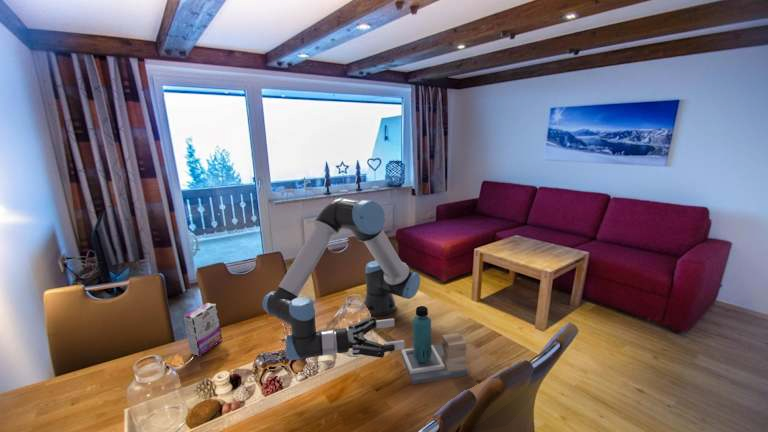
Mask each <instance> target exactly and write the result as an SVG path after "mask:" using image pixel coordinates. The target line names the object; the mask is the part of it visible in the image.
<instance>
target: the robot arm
mask: <svg viewBox="0 0 768 432" xmlns="http://www.w3.org/2000/svg"><path fill="white" fill-rule="evenodd" d="M385 215H386V213H385V210H384V208H383V207H382V206H381V204H379V202H376V201H374V200H371V199H367V198H365V199H363V198H354V197H347V196H341V197H338V198H336V199H334V200H331V202H329V203H328V204H327V205H326V206H325V207H324V208H323V209H322V210H321V211H320V213H319V214H318V216H317V217H316V219H315V220H314V222H313V224H314V227H313V229H312V231H311V232H310V234H309V235H308V237H307V239H306V240H305V242H304V243H303V245H302V247H301V249H300V250H299V252H298V254H297V255H296V257H295V258H294V260H293V262H292V263H291V265H290V267H289V269H288V270H287V272H286V274H285V275H284V277H283V279H282V280H281V281H280V283H279V284H278V287H277V288H276V290H273V291H270V292H268V293H266V295H265V296H264V297H263V300H262V308H263V310H264V311H265V312H266V313H268V314H269V315H270V316H272V317H274V318H276V319H278V320H280V321H281V322H284V323H285V324H287V325H289V326H290V329H291V330H290V331H291V334H290V335H288V336H287V337H286V339H285V348H286V349H285V351H286V352H285V353H286V358H287V359H288V360H289V361H294V360H296V361H297V360H304V359H305V360H306V359H310V358H315V357H323V356H328V355H329V356H330V355H335V354H336V353H337V354H345V353H348V352H349V350H351V349H352V350H351V351H352V355H353V356H357V355H360V356H367V357H374V358H380V359H381V358H384V357H385V353H388V352H394V351H397V350H398V351H399V350H403V349H405V340H404V339H400V340H393V341H385V342H383V344H382V343H378V342H375V341H372V340H369V339H367V338H366V337H365V335H366V334H368V333H369V332H371V331H372V330H373V329H374V328H376V329H384V328H392V327H395V318H387V319H386V318H385V319H378V320H377V319H376V317H383V316H387V315H391V314H393V312H395V310H396V301H395V299H394V296H393V295H395V296H397V297H401V298H402V299H407V300H411V299H413V298H414V297H415V296H416V295H417V293H418V292H419V289H420V285H421V276H420V274H419V273H418V272H416V271H412V270H411V269H410V267H409V265H407V263H406V262H403V261H402V260H401V259H400V257H399V255H398V253H397V252H396V250H395V248H394V246H393V245H392V243H391V241H390V239H389V238H388V236H387V235H386V233H385V230H384V228H385V227H384V225H385V223H386V222H385V221H386V218H384V217H385ZM342 229H345V230H350V231H351V232H352V234H353V235H354V237H355V238H356V240H357V241H359V242H363V243H364V244H365V246H366V247H367V249H368V251H369V252H370V254H371V255H372V257H373V258H374V260H372V261H370V262H368V263H366V265H365V286H366V287H365V289H366V293H365V298H364V301H363V304H365V305H366V307H367V308H368V310H369V311H370V313H371V314H372V315H371V316H373V317H369V318H366V319H364V320H361V321H359V322H356V323H355V324H349V325H348V330H347V328H346V327H343V328H342V327H341V328H337V329H336V330H334V329H327V330H322V331H317V327H316V310H315V309H316V308H315V305H314V300H313V299H312V298H310V297H308V296H299V295H300V294H301V292H302V291H303V289H304V286H305V285H306V283H307V281H308V280H309V278H310V277H311V275H312V272H314V269H315V268H316V267H317V265H318V262H319V261H320V259H321V257H322V256H323V254H324V253H325V250H326V249H327V247H328V245H329V244H330V242H331V240H332V239H333V237H335V236H337V235H338V234H339V232H340V231H341V230H342ZM374 316H375V317H374Z"/></svg>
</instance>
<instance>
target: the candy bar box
mask: <svg viewBox="0 0 768 432" xmlns="http://www.w3.org/2000/svg"><path fill="white" fill-rule="evenodd" d="M217 308H218V307H217V304H216V303H213V302H212V303H211V302H206V303H204V304H203V305H201V306H199V307H197V308H196V309H193V310H192V311H190V312H189V313H187V314H185V315H184V316H183V321H184V326H185V330H186V331H185V332H186V335H187V336H186V337H187V341H188V347H189V350H190V355H191V354H196V355H199V356H200V355H202V354H203V353H204V352H205V351H207V350H208V349H210V348H211V347H212V346H214V345H215V344H216V343H218V342H219V341H220V340H221V339H222V340H223V336H222V331H221V325H220V319H219V313H218V309H217ZM218 344H219V343H218ZM214 347H215V346H214ZM210 350H211V349H210ZM207 352H208V351H207ZM203 355H204V354H203ZM203 355H202V356H203ZM199 356H198V357H199Z"/></svg>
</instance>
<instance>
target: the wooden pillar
mask: <svg viewBox="0 0 768 432" xmlns="http://www.w3.org/2000/svg"><path fill="white" fill-rule="evenodd" d="M441 345H442V362H443V364H444V365H445V367H446V369H447V371H448V372H453V371H459V370H465V367H466V357H467V356H466V354H467V342H466V340H465V339H464V338H463V337H462V335H461V334H460V333H459V332H455V333H454V332H453V333H449V334H448V333H447V334H443V335H441Z"/></svg>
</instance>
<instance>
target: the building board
mask: <svg viewBox="0 0 768 432" xmlns="http://www.w3.org/2000/svg"><path fill="white" fill-rule="evenodd" d="M431 346H432V348H431V349H432V350H431V353H432V355H431V358H430V360H428V361H426V362H420V361H417V360H416V359H415V358H414V356H413V347H412V348H411V347H410V348H404V349H400V355H401V358H402V360H403V363H404V365H405V367H406V370H407V372H408V375H409V377H410V381H411V383H412V385H417V384H423V383H428V382H433V381H434V382H435V381H441V380H447V379H452V378H458V377H464V376H468V375H469V370H468V369H467V368H466V366H465V370H459V371H453V372H448V371H447V369H446V367H445V365H444V364H443V362H442V344H436V345H434V344H431Z"/></svg>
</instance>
